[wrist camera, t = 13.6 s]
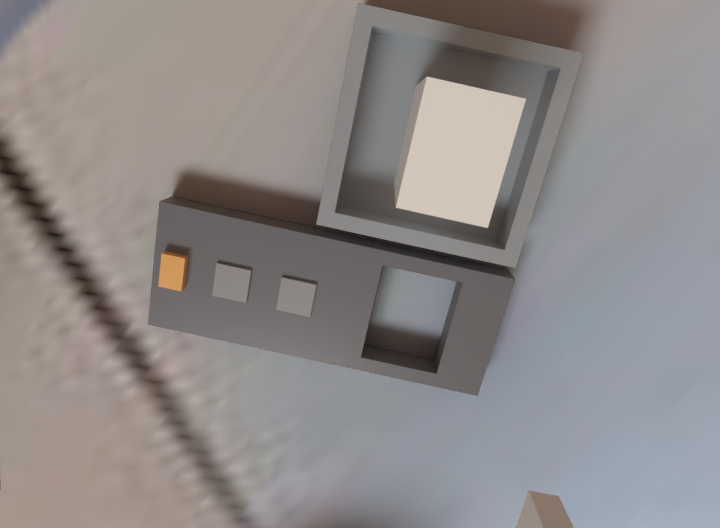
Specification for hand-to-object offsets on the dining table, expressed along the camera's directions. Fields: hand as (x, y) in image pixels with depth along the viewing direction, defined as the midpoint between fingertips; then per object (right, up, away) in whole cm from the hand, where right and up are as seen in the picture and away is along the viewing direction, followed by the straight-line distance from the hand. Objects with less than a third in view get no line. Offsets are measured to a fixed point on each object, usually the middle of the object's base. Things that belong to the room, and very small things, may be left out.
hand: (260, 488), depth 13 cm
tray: (+8, +14, +21) cm, 26 cm away
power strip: (0, +3, +24) cm, 25 cm away
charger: (+8, +13, +20) cm, 26 cm away
